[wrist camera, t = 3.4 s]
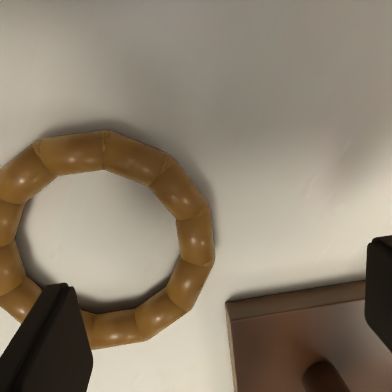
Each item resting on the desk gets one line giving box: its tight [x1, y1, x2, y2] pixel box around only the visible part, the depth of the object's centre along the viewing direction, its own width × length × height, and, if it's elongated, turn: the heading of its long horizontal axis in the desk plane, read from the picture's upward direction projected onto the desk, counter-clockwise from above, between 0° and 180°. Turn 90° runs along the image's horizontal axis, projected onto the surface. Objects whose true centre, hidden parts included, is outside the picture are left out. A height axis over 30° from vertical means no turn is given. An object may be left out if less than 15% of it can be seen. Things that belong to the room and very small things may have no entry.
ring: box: [0, 130, 215, 350], centre depth 15 cm, size 10×10×2 cm
